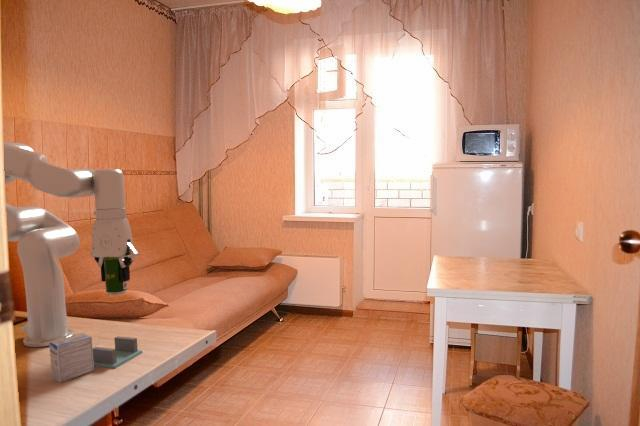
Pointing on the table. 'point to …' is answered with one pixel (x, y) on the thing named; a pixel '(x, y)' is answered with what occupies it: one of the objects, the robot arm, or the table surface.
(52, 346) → the medicine box
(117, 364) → the end holder
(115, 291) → the beer can
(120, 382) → the table surface
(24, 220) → the robot arm
